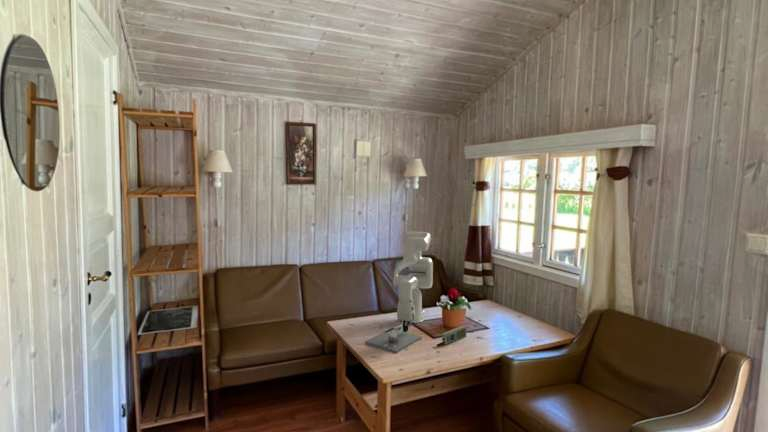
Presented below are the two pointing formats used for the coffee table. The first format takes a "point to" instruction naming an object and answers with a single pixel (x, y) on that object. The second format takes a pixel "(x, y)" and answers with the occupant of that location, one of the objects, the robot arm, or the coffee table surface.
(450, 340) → the handheld radio
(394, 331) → the bar with ball ends
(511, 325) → the coffee table surface
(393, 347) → the stand plate
